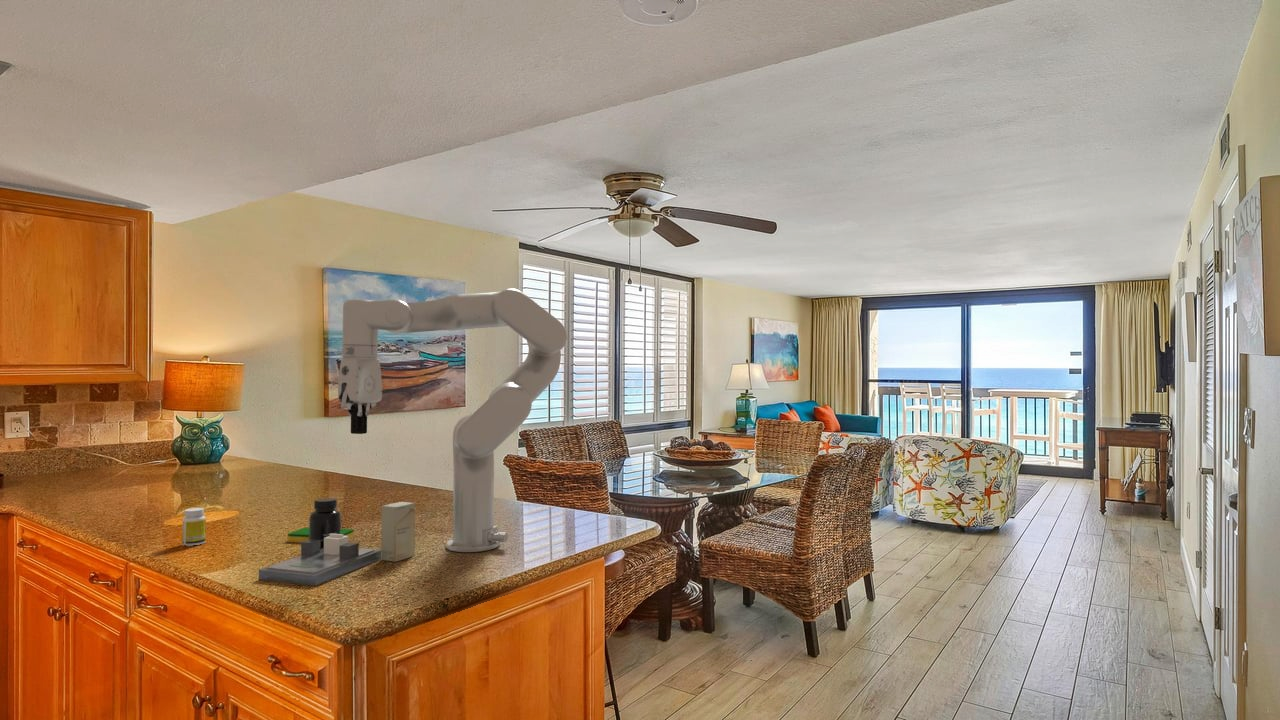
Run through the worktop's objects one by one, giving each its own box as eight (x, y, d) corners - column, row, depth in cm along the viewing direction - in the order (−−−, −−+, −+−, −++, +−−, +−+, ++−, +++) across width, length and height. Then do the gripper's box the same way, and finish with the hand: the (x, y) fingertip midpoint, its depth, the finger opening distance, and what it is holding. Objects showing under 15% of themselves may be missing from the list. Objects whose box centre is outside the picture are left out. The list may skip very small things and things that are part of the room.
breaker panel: (381, 559, 156) (381, 536, 156) (315, 586, 137) (315, 560, 137) (329, 554, 160) (329, 531, 160) (258, 579, 141) (258, 554, 141)
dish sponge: (338, 545, 169) (338, 535, 169) (286, 543, 171) (286, 533, 171) (354, 538, 176) (354, 528, 176) (304, 536, 178) (304, 526, 178)
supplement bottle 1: (210, 542, 170) (210, 508, 170) (190, 547, 166) (190, 512, 166) (197, 540, 172) (197, 506, 172) (178, 545, 168) (178, 510, 168)
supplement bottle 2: (328, 555, 158) (328, 503, 159) (302, 554, 160) (302, 501, 160) (347, 548, 165) (347, 497, 165) (321, 546, 167) (321, 496, 167)
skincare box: (395, 562, 153) (395, 507, 153) (380, 560, 155) (380, 505, 155) (415, 555, 159) (415, 502, 159) (400, 553, 161) (401, 500, 161)
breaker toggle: (348, 552, 153) (348, 533, 153) (339, 555, 150) (339, 536, 150) (333, 550, 154) (333, 532, 154) (323, 554, 151) (323, 535, 151)
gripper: (351, 352, 151) (350, 437, 151) (394, 354, 166) (393, 431, 165) (322, 352, 154) (321, 435, 153) (367, 354, 168) (366, 430, 168)
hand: (358, 433), depth 159 cm, fingers closed
